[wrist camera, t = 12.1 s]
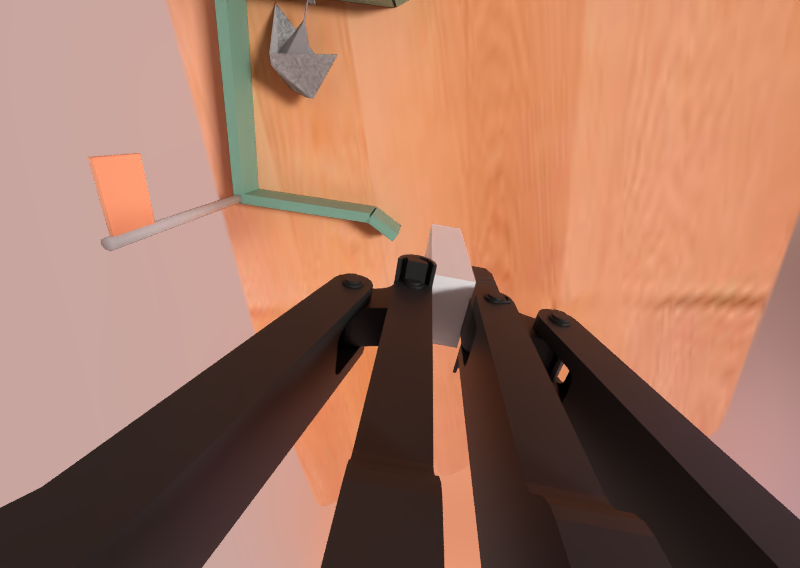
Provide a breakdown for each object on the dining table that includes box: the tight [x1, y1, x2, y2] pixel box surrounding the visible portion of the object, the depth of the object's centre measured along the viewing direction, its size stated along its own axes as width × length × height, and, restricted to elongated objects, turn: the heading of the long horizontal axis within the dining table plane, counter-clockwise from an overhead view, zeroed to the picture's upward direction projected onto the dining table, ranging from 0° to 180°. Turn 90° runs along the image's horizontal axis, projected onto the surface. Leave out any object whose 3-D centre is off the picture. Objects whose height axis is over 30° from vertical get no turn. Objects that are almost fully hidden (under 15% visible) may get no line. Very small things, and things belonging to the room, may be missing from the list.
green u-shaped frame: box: [88, 0, 408, 251], centre depth 29 cm, size 21×27×22 cm
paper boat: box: [269, 0, 337, 98], centre depth 34 cm, size 12×6×9 cm
